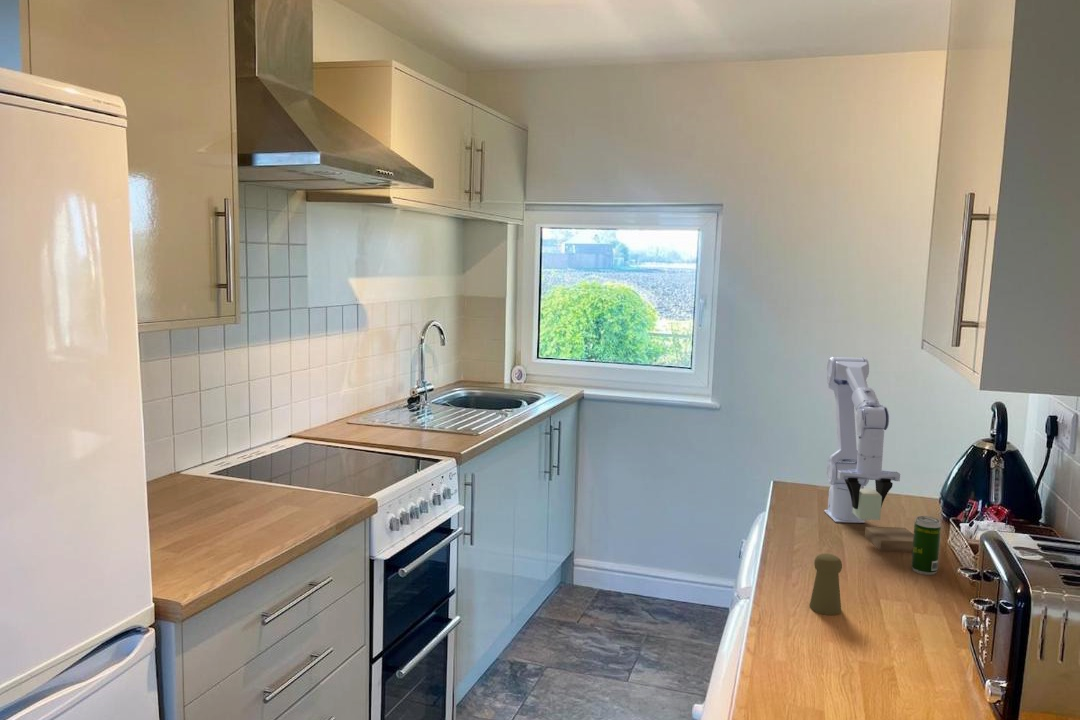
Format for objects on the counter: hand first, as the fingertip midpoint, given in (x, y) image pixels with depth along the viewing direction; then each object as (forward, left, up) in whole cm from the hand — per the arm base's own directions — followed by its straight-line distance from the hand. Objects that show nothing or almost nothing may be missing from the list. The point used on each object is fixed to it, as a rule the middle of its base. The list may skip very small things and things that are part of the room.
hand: (866, 508), depth 195 cm
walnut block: (+2, +6, -9) cm, 11 cm away
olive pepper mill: (+40, -23, -9) cm, 47 cm away
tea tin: (0, 0, -2) cm, 2 cm away
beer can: (+19, +6, -9) cm, 22 cm away
